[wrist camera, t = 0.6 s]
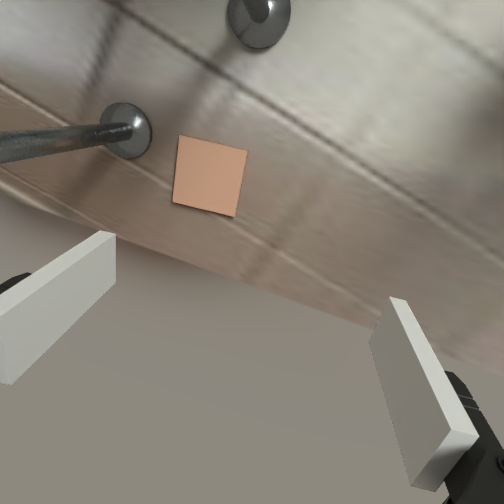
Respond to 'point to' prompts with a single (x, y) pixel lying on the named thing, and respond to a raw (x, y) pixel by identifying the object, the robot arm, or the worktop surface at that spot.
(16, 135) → the post
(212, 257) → the worktop surface
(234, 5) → the post
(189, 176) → the trivet
